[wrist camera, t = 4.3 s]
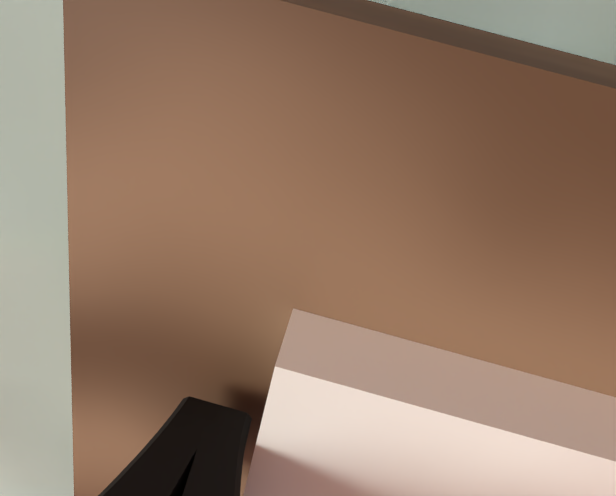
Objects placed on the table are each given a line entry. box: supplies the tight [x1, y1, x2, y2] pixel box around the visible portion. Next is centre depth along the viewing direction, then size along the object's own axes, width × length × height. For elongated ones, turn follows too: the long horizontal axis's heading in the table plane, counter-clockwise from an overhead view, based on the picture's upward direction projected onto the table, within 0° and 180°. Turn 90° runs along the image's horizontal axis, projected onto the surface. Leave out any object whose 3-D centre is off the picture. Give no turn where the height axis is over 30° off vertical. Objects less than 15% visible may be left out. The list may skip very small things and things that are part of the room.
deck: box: [63, 0, 616, 496], centre depth 12 cm, size 16×12×2 cm
